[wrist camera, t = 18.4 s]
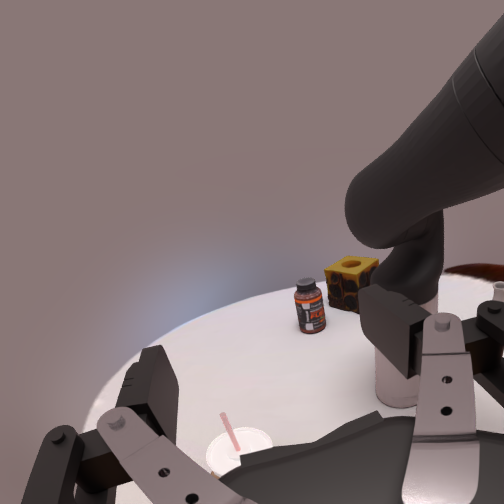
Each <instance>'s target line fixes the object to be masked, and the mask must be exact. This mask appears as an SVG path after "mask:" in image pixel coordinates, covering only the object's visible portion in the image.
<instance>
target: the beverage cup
mask: <svg viewBox="0 0 504 504" xmlns="http://www.w3.org/2000/svg"><path fill="white" fill-rule="evenodd" d="M220 417H221V419H222V421H223V424H224V426H225V428H226V430H227V432H225V433H223V434H221V435H219V436H218V437H217V438H216V439H215V440H214V441H212V442H211V443H210V445H209V448H208V450H207V452H206V460H207V463H208V465H209V466H210V468H211V469H212V471H213V472H214V473H215V475H217V476H219V477H221V476H222V475H224V474H225V473H227V472H228V471H230V470H232V469H234V468H236V467H238V466H240V465H241V462H240V456H239V455H243V454H248V453H252V452H256V451H260V450H264V449H268V448H271V447H273V444H272V440H271V438H270V437H269V436H268V435H267V434H266V433H265V432H264V431H261V430H258V429H255V428H245V427H241V428H237V429H232V428H231V425H230V423H229V421H228V418H227V416H226V414H225V413H221V414H220Z"/></svg>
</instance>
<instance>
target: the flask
mask: <svg viewBox="0 0 504 504" xmlns="http://www.w3.org/2000/svg"><path fill="white" fill-rule="evenodd" d="M493 288H494V296H493V299H492V300H496V301H501V302H504V282H501V281H500V282H495V283H494V285H493Z"/></svg>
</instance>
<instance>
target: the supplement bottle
mask: <svg viewBox="0 0 504 504" xmlns="http://www.w3.org/2000/svg"><path fill="white" fill-rule="evenodd" d="M296 285H297V291H296V292H295V294H294V299H295V305H296V310H297V315H298V321H299V326H300V329H301V330H302V331H303V332H305V333H316V332H319V331H321V330H322V329H324V327H325V326H326V320H325V312H324V305H323V299H322V292H321V290H320V288H318V287H316V283H315V279H313V278H303V279H300V280H298V281H297V283H296Z"/></svg>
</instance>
